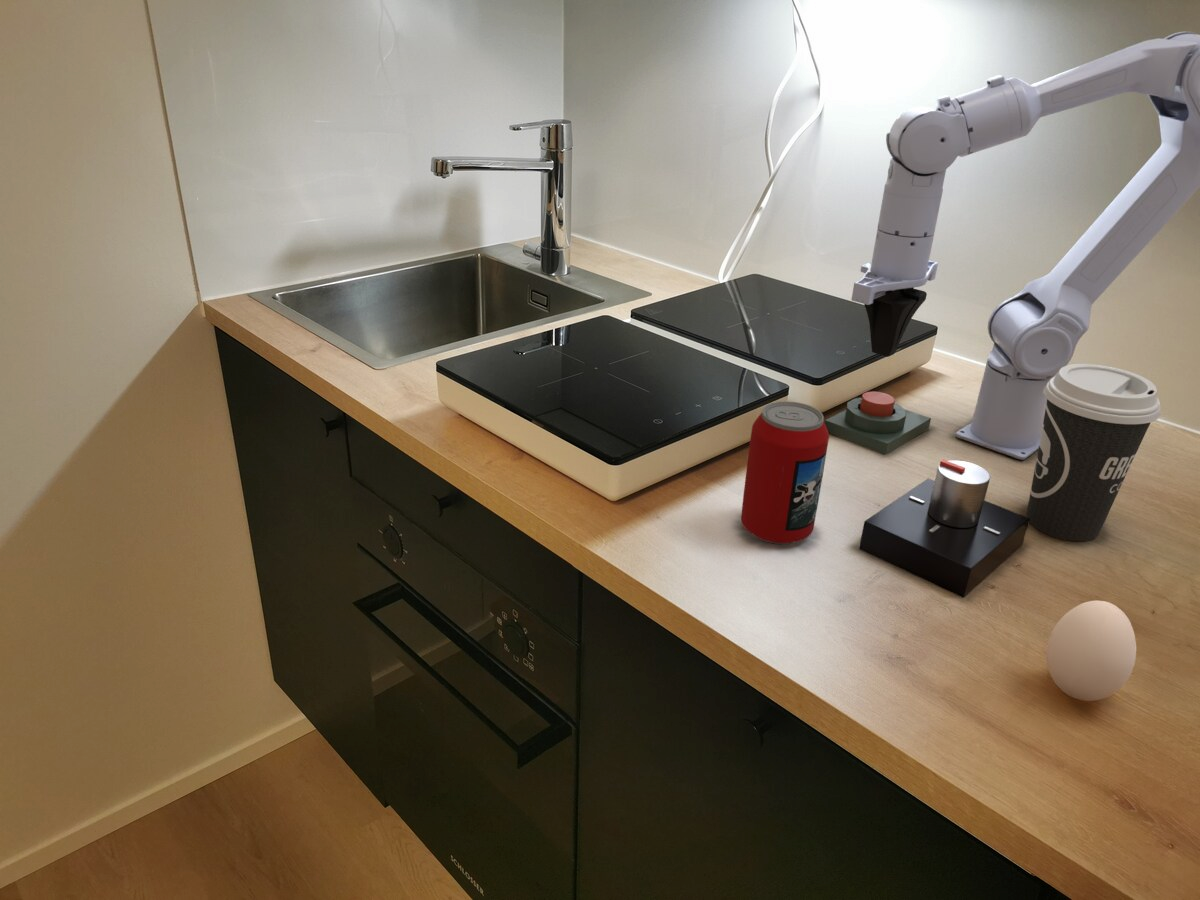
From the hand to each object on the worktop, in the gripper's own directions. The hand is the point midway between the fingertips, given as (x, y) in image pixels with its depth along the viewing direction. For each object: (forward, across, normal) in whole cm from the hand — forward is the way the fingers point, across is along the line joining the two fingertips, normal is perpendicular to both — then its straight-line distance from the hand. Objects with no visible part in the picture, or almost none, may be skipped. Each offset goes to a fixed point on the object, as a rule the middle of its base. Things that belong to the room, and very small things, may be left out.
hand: (882, 353), depth 101 cm
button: (+7, 0, +1) cm, 7 cm away
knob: (+6, +16, +18) cm, 25 cm away
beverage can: (+10, +26, +6) cm, 29 cm away
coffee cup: (+10, +4, +24) cm, 26 cm away
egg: (+10, +28, +34) cm, 45 cm away
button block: (+10, -1, +1) cm, 10 cm away
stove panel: (+10, +17, +18) cm, 26 cm away
